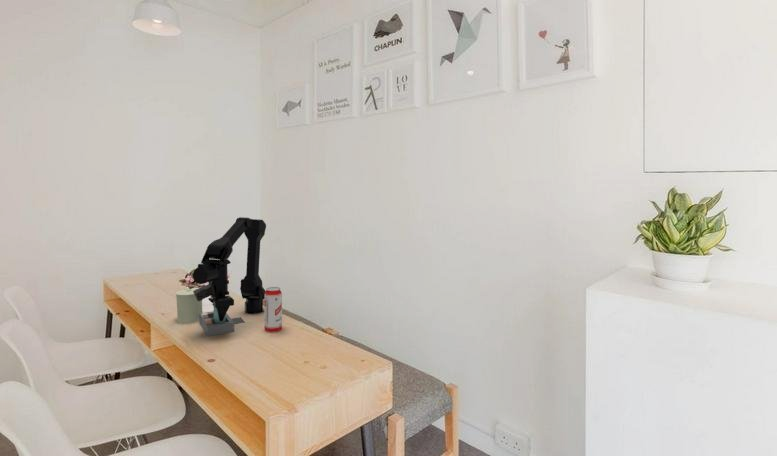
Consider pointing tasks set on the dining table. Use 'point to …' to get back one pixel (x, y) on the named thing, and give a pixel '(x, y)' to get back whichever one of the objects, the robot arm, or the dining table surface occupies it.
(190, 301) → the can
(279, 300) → the beer can
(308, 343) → the dining table surface
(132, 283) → the dining table surface
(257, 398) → the dining table surface
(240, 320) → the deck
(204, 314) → the dock
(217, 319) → the plug
